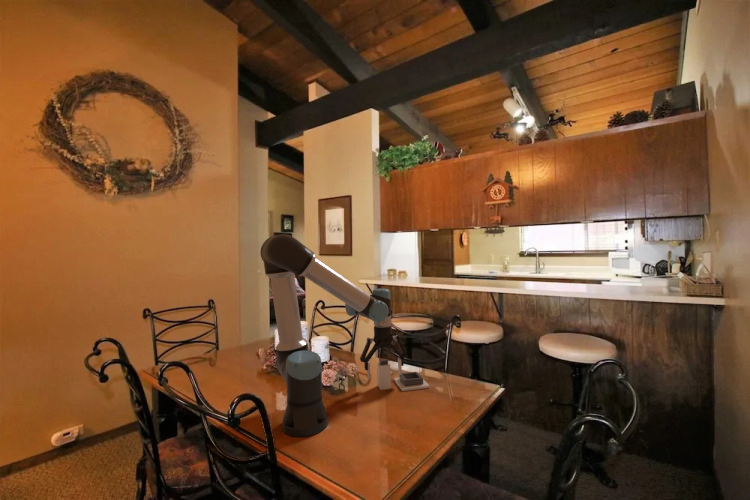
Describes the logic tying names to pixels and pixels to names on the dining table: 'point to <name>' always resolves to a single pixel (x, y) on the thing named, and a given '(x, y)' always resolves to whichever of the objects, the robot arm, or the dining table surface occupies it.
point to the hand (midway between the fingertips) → (384, 375)
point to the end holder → (411, 381)
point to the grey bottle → (383, 374)
